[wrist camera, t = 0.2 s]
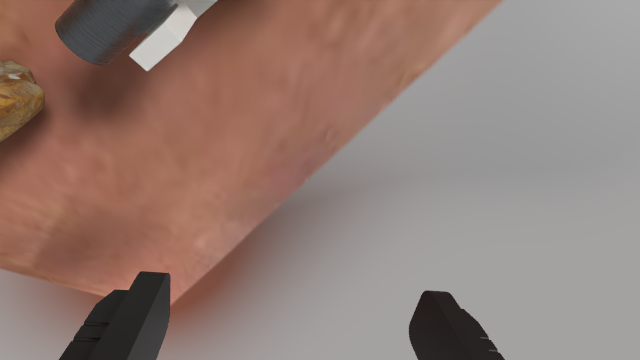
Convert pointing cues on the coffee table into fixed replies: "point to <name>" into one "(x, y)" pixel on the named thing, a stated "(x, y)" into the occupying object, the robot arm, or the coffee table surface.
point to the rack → (168, 31)
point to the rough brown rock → (17, 97)
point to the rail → (107, 26)
